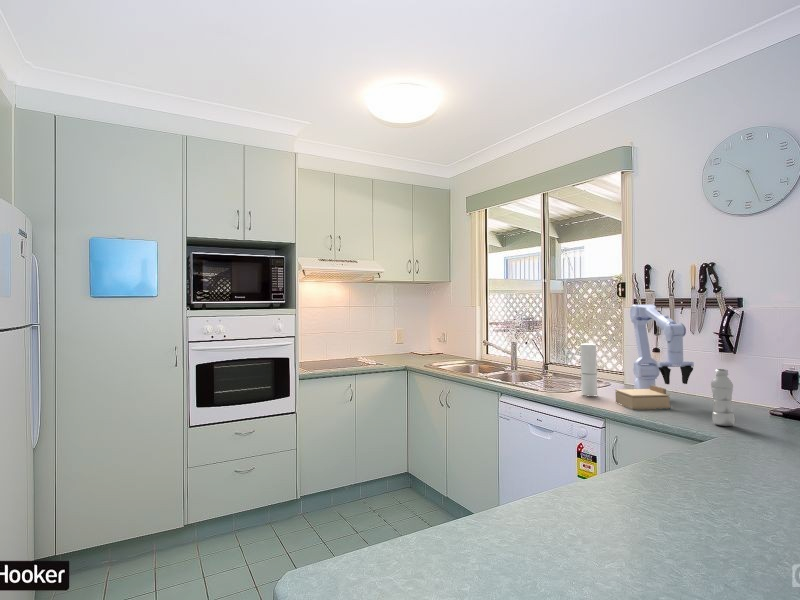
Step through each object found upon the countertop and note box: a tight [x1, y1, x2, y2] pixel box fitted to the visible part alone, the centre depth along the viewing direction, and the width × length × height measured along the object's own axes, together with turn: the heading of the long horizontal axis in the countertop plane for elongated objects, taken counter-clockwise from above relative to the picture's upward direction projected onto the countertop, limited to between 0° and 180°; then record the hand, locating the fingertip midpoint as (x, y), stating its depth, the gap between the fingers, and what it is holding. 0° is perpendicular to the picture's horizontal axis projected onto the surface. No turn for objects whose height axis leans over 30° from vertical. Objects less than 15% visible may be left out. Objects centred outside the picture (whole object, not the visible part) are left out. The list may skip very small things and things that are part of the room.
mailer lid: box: [614, 385, 671, 397], centre depth 198 cm, size 14×16×3 cm
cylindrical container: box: [579, 343, 598, 396], centre depth 223 cm, size 7×7×25 cm
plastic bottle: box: [710, 368, 736, 427], centre depth 163 cm, size 6×7×20 cm
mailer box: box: [615, 391, 671, 410], centre depth 198 cm, size 14×16×5 cm
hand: (675, 383), depth 193 cm, fingers open, 7 cm apart
